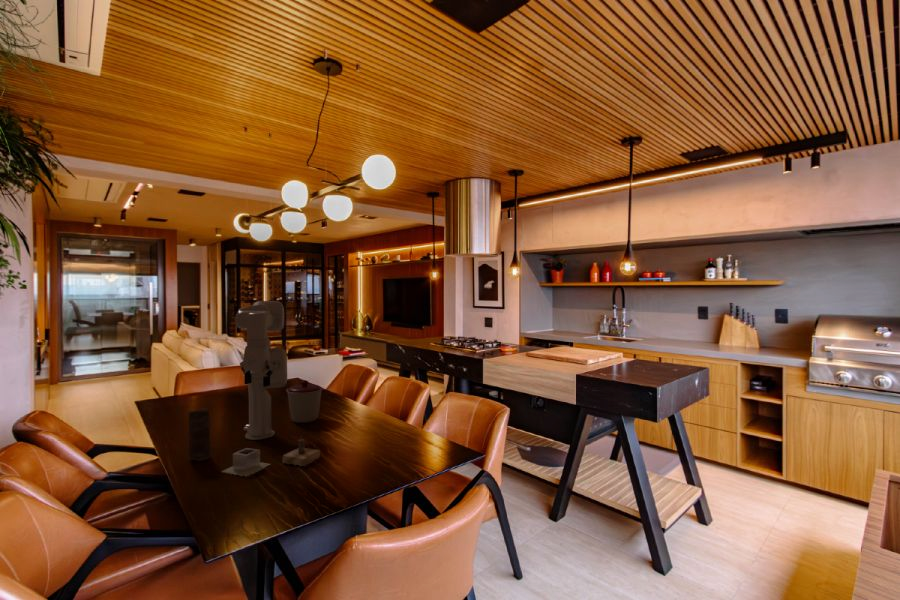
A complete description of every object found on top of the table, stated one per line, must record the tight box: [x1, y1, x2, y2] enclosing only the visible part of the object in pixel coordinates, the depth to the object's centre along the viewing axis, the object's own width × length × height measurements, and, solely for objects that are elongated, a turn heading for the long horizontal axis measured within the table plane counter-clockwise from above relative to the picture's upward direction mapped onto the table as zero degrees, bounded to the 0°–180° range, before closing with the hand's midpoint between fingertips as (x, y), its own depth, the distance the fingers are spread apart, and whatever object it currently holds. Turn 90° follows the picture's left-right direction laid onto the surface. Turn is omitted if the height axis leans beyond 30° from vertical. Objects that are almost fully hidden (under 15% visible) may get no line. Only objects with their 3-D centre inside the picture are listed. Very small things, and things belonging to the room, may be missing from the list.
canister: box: [286, 380, 324, 424], centre depth 226 cm, size 18×18×21 cm
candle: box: [188, 407, 212, 462], centre depth 172 cm, size 8×7×20 cm
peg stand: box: [282, 438, 321, 467], centre depth 171 cm, size 10×10×8 cm
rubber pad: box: [220, 461, 272, 478], centre depth 163 cm, size 12×12×1 cm
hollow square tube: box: [232, 447, 261, 472], centre depth 163 cm, size 7×7×6 cm
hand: (257, 384), depth 175 cm, fingers open, 9 cm apart
